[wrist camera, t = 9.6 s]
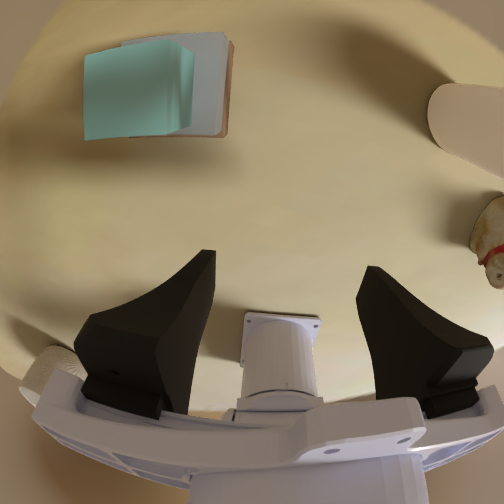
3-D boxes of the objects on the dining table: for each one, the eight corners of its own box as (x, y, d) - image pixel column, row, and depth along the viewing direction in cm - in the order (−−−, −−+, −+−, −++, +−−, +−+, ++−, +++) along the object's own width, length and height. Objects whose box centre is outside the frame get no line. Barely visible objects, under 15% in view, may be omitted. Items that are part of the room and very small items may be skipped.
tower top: (221, 131, 17) (214, 135, 15) (133, 130, 17) (117, 136, 15) (229, 41, 14) (223, 32, 12) (137, 46, 14) (121, 41, 12)
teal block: (191, 125, 15) (165, 134, 11) (124, 128, 15) (84, 140, 11) (195, 54, 12) (169, 38, 9) (125, 61, 12) (85, 55, 9)
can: (414, 91, 16) (525, 106, 6) (465, 77, 14) (569, 93, 4) (436, 163, 19) (533, 224, 8) (482, 143, 17) (576, 190, 7)
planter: (61, 372, 41) (41, 414, 31) (35, 330, 34) (6, 376, 25) (111, 389, 41) (93, 438, 31) (88, 347, 34) (59, 404, 25)
